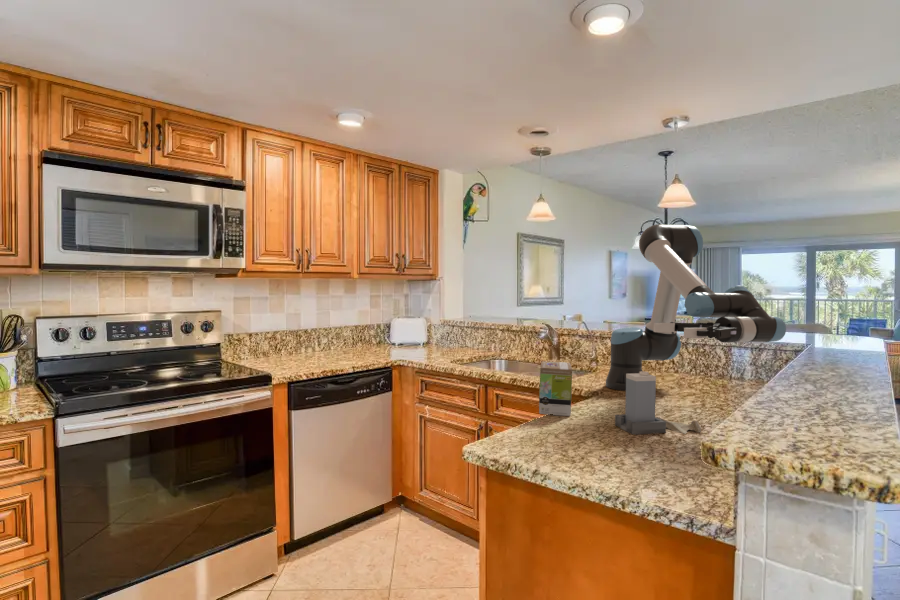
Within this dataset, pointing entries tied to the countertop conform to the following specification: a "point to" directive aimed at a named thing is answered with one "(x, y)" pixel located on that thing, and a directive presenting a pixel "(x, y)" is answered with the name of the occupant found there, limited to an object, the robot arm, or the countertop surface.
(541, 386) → the tea box
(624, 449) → the countertop surface
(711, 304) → the robot arm
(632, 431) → the pocket
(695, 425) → the fossil
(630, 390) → the grey tall block
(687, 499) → the countertop surface
